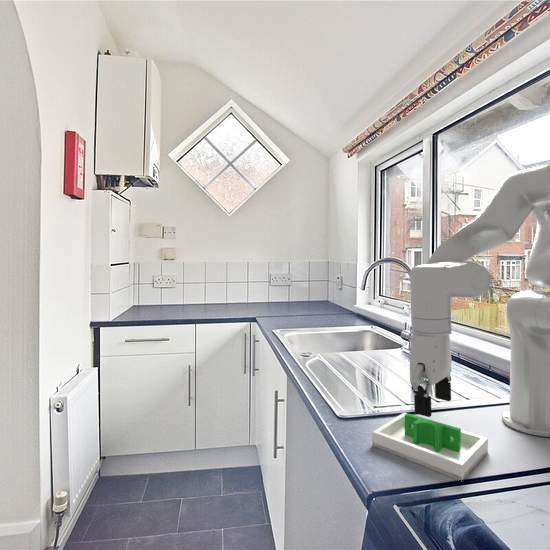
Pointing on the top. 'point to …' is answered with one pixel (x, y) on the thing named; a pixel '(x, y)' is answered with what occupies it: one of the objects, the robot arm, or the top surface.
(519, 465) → the top surface
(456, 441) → the pipe clamp
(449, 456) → the tray
